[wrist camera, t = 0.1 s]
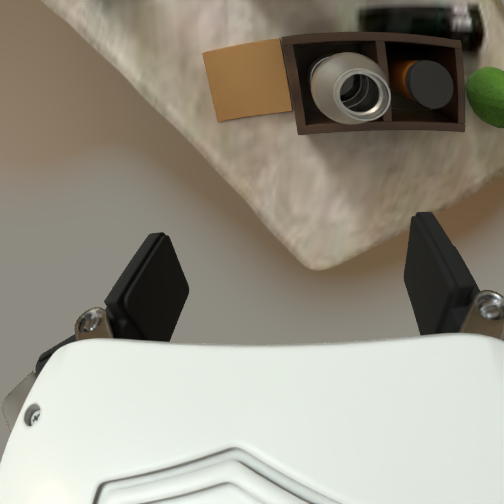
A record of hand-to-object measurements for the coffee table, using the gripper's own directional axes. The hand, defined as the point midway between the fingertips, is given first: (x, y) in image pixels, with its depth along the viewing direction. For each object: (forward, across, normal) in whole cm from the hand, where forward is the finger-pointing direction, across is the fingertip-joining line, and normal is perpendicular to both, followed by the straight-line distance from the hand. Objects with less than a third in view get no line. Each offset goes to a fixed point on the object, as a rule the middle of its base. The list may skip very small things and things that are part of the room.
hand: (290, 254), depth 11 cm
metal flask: (+31, -5, -4) cm, 32 cm away
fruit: (+31, -27, -3) cm, 42 cm away
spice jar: (+31, -15, -4) cm, 35 cm away
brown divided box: (+31, -10, -4) cm, 33 cm away
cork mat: (+31, +6, -5) cm, 32 cm away
